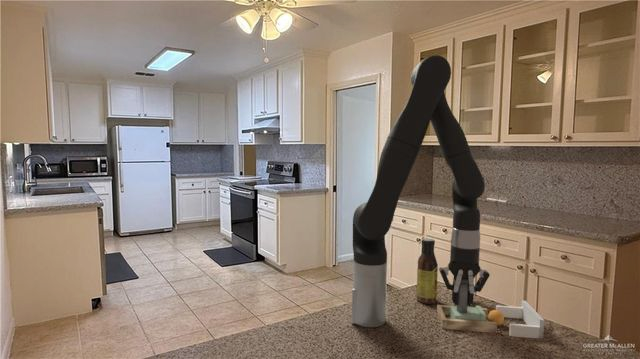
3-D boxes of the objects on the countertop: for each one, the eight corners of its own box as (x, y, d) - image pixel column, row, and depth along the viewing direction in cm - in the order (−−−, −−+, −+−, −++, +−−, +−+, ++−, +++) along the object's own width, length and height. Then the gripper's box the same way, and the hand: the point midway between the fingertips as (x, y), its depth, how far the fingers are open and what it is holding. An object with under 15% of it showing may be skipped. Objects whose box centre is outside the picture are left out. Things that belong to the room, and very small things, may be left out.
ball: (490, 327, 108) (491, 313, 108) (486, 320, 112) (487, 307, 111) (505, 328, 107) (506, 314, 107) (501, 321, 111) (501, 308, 111)
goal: (510, 336, 103) (511, 317, 102) (495, 315, 116) (496, 298, 115) (542, 338, 102) (544, 320, 101) (524, 317, 115) (525, 300, 114)
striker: (454, 326, 108) (456, 281, 107) (450, 315, 115) (451, 273, 113) (485, 328, 107) (488, 283, 106) (479, 317, 113) (481, 275, 112)
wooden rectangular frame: (442, 328, 107) (442, 319, 106) (436, 312, 117) (437, 304, 117) (496, 332, 105) (497, 324, 104) (486, 316, 115) (486, 308, 115)
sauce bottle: (439, 304, 123) (441, 242, 121) (419, 304, 123) (421, 242, 121) (433, 296, 129) (435, 237, 127) (414, 296, 129) (416, 237, 127)
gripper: (441, 246, 106) (438, 308, 108) (495, 249, 104) (492, 312, 106) (437, 239, 114) (434, 297, 115) (488, 242, 112) (484, 301, 113)
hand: (462, 304), depth 110 cm, fingers closed on striker, 3 cm apart
